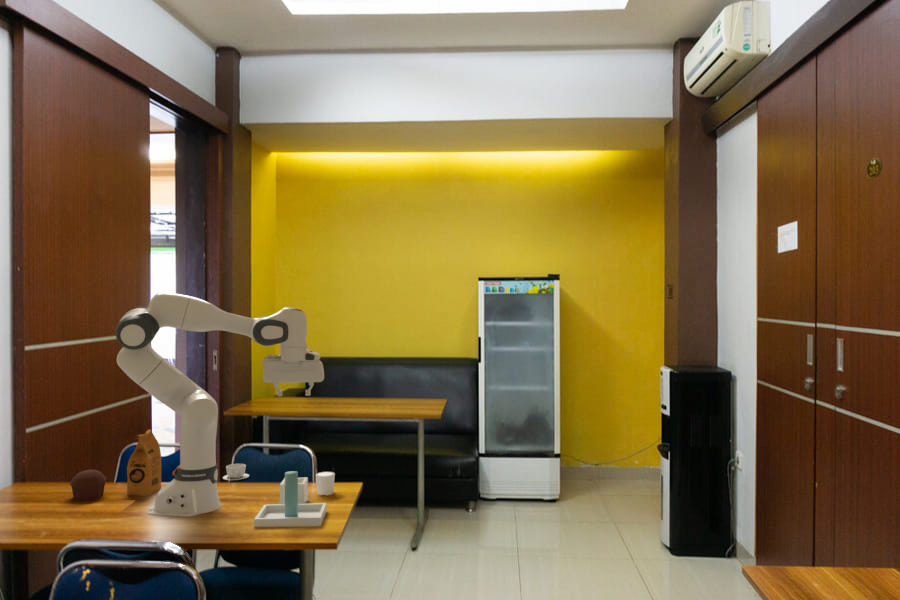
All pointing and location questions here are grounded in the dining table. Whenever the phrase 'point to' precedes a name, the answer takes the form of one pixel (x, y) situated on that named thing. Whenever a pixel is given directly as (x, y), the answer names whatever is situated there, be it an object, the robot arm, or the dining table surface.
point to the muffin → (88, 485)
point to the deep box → (301, 491)
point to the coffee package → (144, 466)
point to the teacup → (236, 471)
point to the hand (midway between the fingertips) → (294, 395)
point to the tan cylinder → (325, 483)
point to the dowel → (291, 494)
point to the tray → (276, 517)
